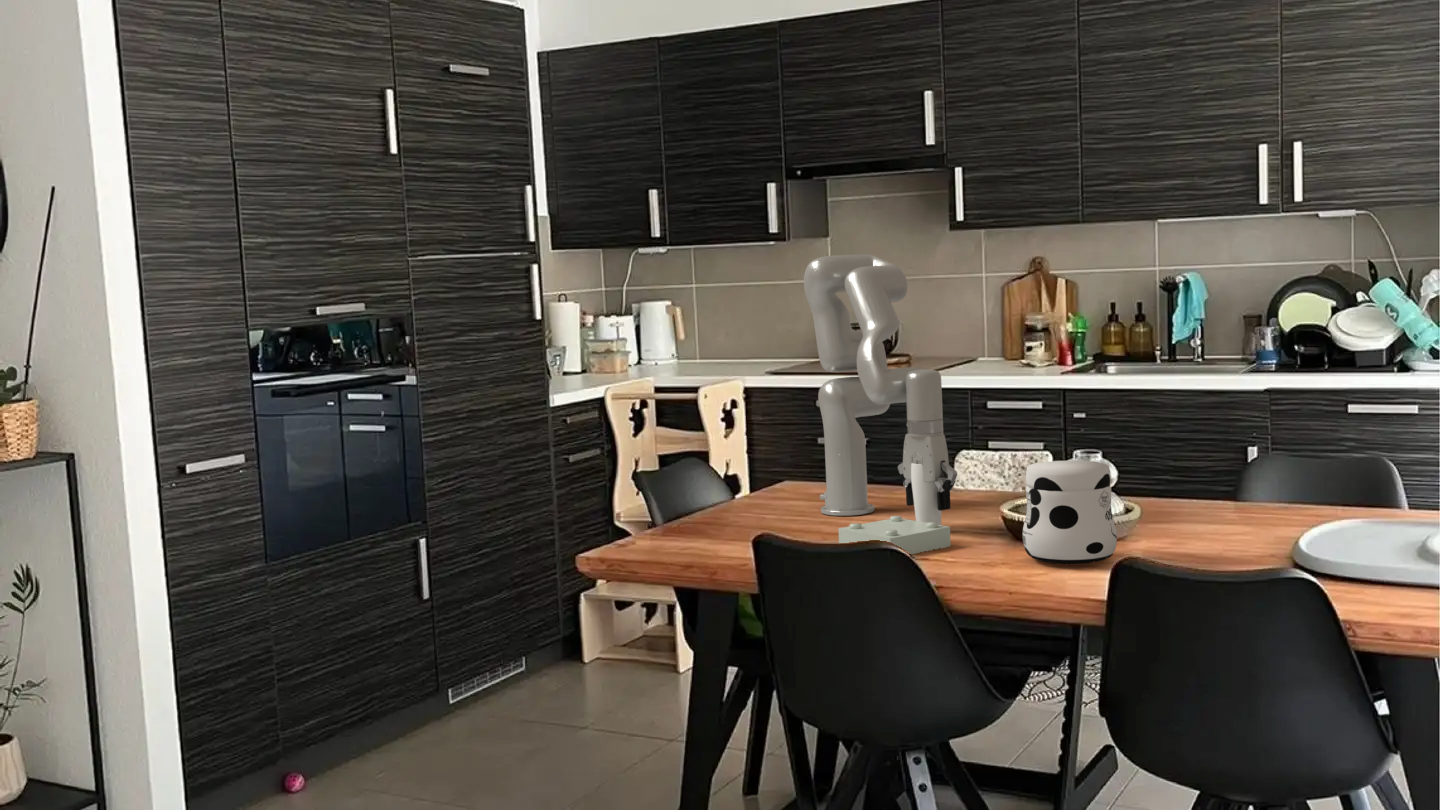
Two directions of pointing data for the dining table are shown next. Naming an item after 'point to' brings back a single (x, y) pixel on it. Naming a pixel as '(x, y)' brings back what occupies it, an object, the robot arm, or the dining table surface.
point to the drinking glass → (924, 497)
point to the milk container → (1069, 512)
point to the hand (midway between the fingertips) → (928, 507)
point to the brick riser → (899, 534)
